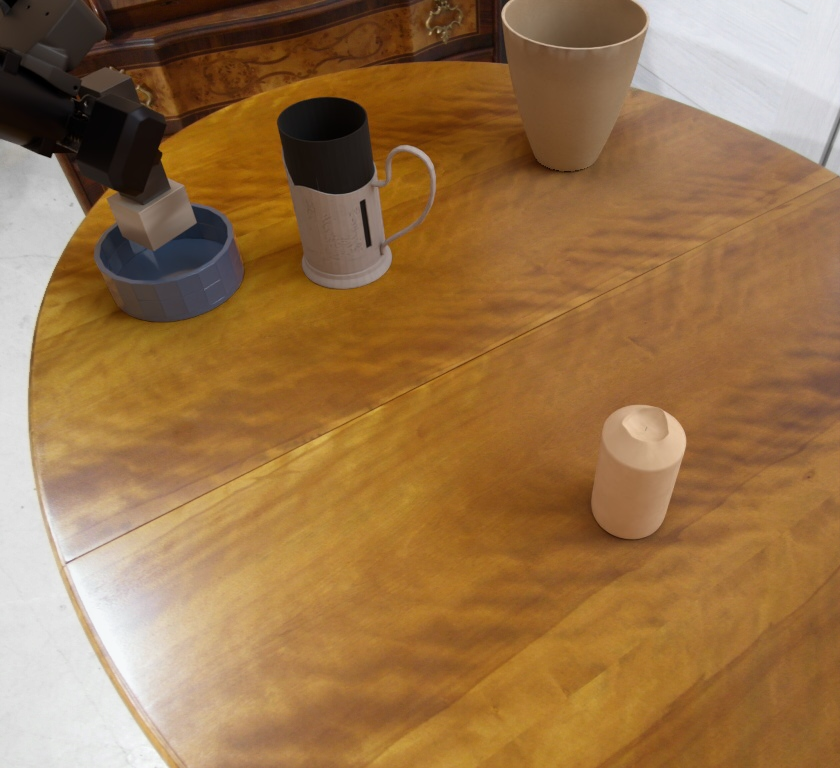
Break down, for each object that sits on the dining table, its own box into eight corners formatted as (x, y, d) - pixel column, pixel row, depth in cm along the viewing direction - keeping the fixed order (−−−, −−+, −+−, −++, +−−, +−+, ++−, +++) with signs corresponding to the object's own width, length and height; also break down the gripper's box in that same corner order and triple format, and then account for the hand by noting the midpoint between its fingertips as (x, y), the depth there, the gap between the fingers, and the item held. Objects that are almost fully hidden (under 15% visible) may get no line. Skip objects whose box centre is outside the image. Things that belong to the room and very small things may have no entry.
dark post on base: (153, 251, 67) (92, 99, 57) (122, 236, 69) (56, 85, 58) (197, 223, 70) (146, 73, 60) (166, 209, 72) (111, 60, 61)
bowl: (91, 319, 70) (71, 281, 66) (139, 238, 78) (123, 200, 74) (224, 324, 70) (211, 286, 66) (258, 242, 78) (247, 204, 74)
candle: (623, 465, 60) (641, 377, 52) (680, 508, 57) (707, 423, 50) (575, 507, 57) (587, 420, 50) (632, 554, 55) (654, 471, 47)
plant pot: (514, 115, 95) (517, -22, 84) (634, 130, 94) (655, -8, 82) (487, 182, 85) (486, 37, 74) (621, 200, 84) (642, 54, 72)
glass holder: (326, 225, 80) (299, 86, 69) (456, 252, 77) (450, 112, 66) (285, 278, 74) (249, 135, 63) (424, 309, 71) (412, 166, 60)
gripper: (91, -12, 46) (262, 90, 61) (-92, -73, 53) (102, 33, 67) (33, 164, 48) (214, 223, 62) (-140, 84, 54) (61, 154, 69)
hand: (146, 152), depth 65 cm, fingers closed on dark post on base, 3 cm apart
